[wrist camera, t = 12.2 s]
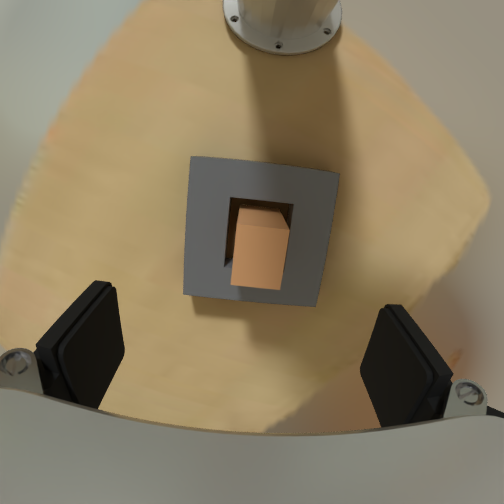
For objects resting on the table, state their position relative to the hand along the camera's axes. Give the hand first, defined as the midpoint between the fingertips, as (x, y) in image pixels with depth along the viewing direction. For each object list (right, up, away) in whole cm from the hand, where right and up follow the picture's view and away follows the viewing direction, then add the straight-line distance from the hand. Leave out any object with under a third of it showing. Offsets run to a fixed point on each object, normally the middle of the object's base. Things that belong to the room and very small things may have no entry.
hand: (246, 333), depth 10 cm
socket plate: (+1, +5, +22) cm, 23 cm away
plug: (+1, +5, +22) cm, 23 cm away
